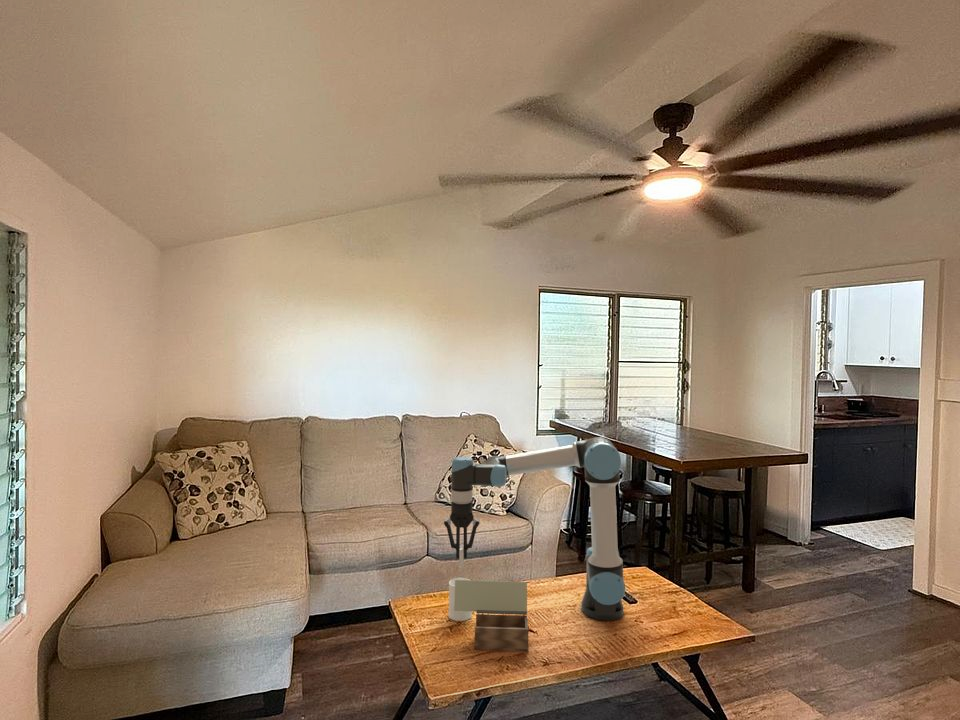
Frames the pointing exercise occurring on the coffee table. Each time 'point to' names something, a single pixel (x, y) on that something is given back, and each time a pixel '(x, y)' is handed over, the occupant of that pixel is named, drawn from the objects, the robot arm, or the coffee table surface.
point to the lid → (491, 597)
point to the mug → (453, 614)
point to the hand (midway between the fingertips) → (461, 567)
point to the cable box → (501, 632)
